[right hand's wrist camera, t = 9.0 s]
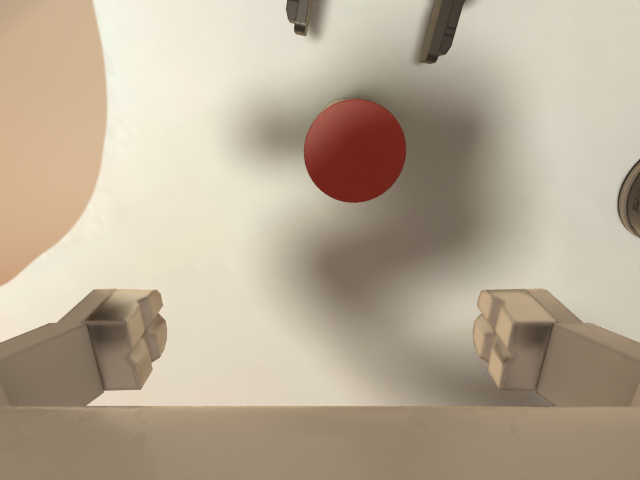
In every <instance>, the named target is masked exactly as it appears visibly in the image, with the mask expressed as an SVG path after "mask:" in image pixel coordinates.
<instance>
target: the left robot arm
mask: <svg viewBox="0 0 640 480" xmlns="http://www.w3.org/2000/svg"><path fill="white" fill-rule="evenodd" d="M464 1H465V0H436V1H435V3H434V7H433V11H432V15H431V18H430V22H429V26H428V30H427V34H426V37H425V41H424V45H423V49H422V53H421V57H420V62H423V63H428V64H432V63H435V62H436V61H437V59H438V56H442V55H445V54H446V53H447V52H448V50H449V49H450V47H451V45H452V42H453V38H454V35H455V31H456V28H457V24H458V21H459V17H460V14H461V10H462V7H463V4H464ZM311 6H312V0H287V6H286V11H287V16H288V20H289V22H290V23H295V26H294V32H295V33H296V34H298V35H303V36H306V35H307V30H308V24H309V18H310V12H311ZM619 213H620V217H621V220H622V222H623V224H624V225H625V227H626V228H627V229H628V230H629V231H630V232H631V233H632V234H633V235H635V236H637V237H639V238H640V162H639V163H638V164H637V165H636V166H635V167H634V168H633V170H632V171H631V172H630V174H629V175H628V177H627V179H626V181H625V183H624V185H623V187H622V190H621V193H620V198H619Z"/></svg>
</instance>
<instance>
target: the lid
mask: <svg viewBox="0 0 640 480" xmlns="http://www.w3.org/2000/svg"><path fill="white" fill-rule="evenodd" d="M405 157H406V142H405V137H404V134H403V131H402V128H401V126H400V124H399V123H398V121H397V120H396V118H395V117H394V116H393V115H392V114H391V113H390V112H389V111H388V110H387V109H385V108H384V107H382V106H381V105H379V104H376V103H374V102H371V101H368V100H363V99H346V100H342V101H338V102H336V103H334V104H332V105H330V106H328V107H327V108H326V109H324V110H323V111H322V112H321V113H320V114H319V115H318V116H317V117H316V119H315V120H314V121H313V123H312V125H311V127H310V129H309V131H308V134H307V136H306V140H305V146H304V159H305V165H306V168H307V171H308V173H309V176H310V177H311V179H312V181H313V182H314V183H315V185H316V186H317V187H318V188H319V189H320V190H321V191H322V192H324V193H325V194H326V195H328V196H330V197H332V198H334V199H336V200H339V201H343V202H350V203H357V202H364V201H368V200H371V199H373V198H376V197H378V196H379V195H381V194H383V193H384V192H385V191H387V190H388V189H389V188H390V187H391V186H392V185H393V184H394V182H395V181H396V180H397V178H398V177H399V175H400V173H401V171H402V168H403V165H404V162H405Z"/></svg>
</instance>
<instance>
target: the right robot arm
mask: <svg viewBox="0 0 640 480" xmlns="http://www.w3.org/2000/svg"><path fill="white" fill-rule="evenodd" d="M162 306H163V303H162V298H161V294H160V293H159V292H158V291H157V290H138V289H96V290H93V291H92V292H91V293H90V294H88V295H87V296H86V297H85V298H84V299H83V300H82V301H81V302H79V303H78V304H77V305H76V306H75V307H74V308H73V309H72V310H70V311H69V312H68V313H67V314H66V315H65V316H64V317H63V318H62V319H60V320H59V321H58V322H57V323H49V324H46V325H44V326H41V327H39V328H36V329H34V330H31V331H29V332H26V333H24V334H21V335H19V336H16V337H14V338H11V339H9V340H6V341H4V342H1V343H0V480H640V343H639V342H636V341H634V340H631V339H629V338H626V337H624V336H621V335H619V334H616V333H614V332H611V331H609V330H606V329H604V328H601V327H599V326H596V325H594V324H591V323H583V322H582V321H581V320H580V319H579V318H577V317H576V316H575V315H574V314H573V313H572V312H571V311H570V310H568V309H567V308H566V307H565V306H564V305H563V304H562V303H561V302H560V301H558V300H557V299H556V298H555V297H554V296H553V295H552V294H551V293H550V292H548V291H547V290H545V289H506V290H483V291H481V293H480V295H479V298H478V303H477V306H478V308H479V309H480V311H481V314H480V315H479V316H478V318H477V319H476V320H475V321H474V327H473V339H474V345H475V348H476V351H477V353H478V355H479V356H480V358H482V359H483V360H485V361H487V362H488V363H489V364H488V369H487V370H488V372H489V373H490V375H491V377H492V378H493V380H494V382H495V383H496V385H497V387H498V388H499V390H533V391H536V393H538V394H539V395H541V396H542V397H543V398H545V399H546V400H547V401H549V402H550V403H551V404H553V405H554V406H86V405H87V404H89V403H90V402H92V401H93V400H94V399H96V398H97V397H98V396H100V395H101V394H102V393H104V391H106V390H141V389H142V387H143V385H144V384H145V382H146V380H147V378H148V377H149V375H150V373H151V372H152V370H153V369H152V364H151V363H152V362H153V361H155V360H157V359H158V358H160V356H161V355H162V353H163V351H164V348H165V344H166V340H167V326H166V321H165V320H164V319H163V318H162V316H161V315H160V314H159V311H160V309H161V308H162Z"/></svg>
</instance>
